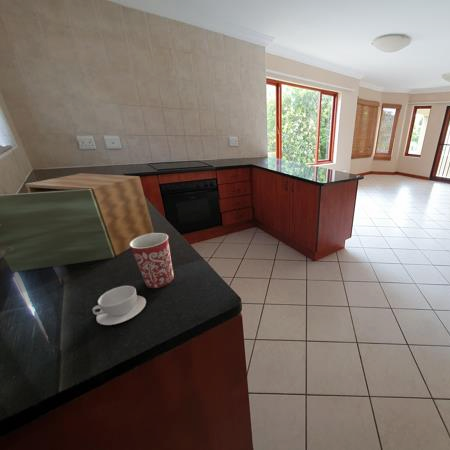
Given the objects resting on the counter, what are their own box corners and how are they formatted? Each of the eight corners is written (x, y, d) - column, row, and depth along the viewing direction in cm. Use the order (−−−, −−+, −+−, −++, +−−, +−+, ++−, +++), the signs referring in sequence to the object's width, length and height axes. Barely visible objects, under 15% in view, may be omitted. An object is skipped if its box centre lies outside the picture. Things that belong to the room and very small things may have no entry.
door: (108, 265, 76) (82, 194, 67) (-1, 282, 68) (-48, 203, 58) (114, 256, 81) (91, 188, 72) (14, 270, 73) (-27, 196, 64)
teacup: (140, 291, 65) (135, 277, 63) (151, 310, 58) (147, 295, 56) (93, 310, 58) (87, 295, 56) (100, 334, 52) (93, 317, 50)
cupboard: (116, 256, 82) (93, 188, 72) (54, 249, 86) (24, 183, 76) (154, 234, 98) (139, 176, 88) (100, 229, 102) (81, 173, 92)
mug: (173, 288, 66) (162, 245, 61) (137, 292, 64) (122, 249, 59) (183, 264, 77) (175, 226, 72) (153, 267, 76) (142, 228, 70)
